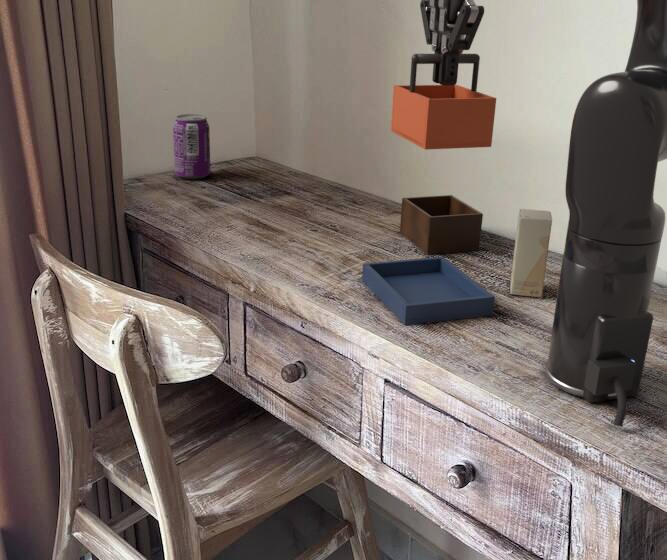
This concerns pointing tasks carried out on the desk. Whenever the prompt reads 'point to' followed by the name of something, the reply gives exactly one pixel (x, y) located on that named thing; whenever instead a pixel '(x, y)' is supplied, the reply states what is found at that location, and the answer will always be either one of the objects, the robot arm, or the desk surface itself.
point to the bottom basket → (441, 224)
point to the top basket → (443, 110)
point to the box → (530, 252)
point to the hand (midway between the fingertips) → (444, 83)
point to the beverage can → (191, 146)
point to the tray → (427, 290)
